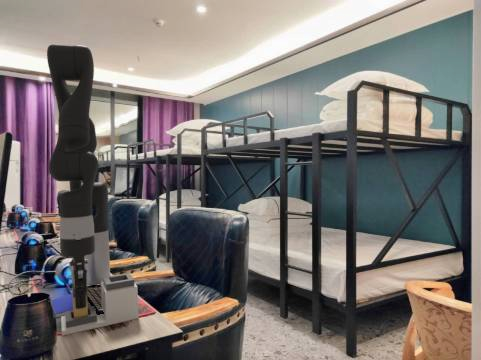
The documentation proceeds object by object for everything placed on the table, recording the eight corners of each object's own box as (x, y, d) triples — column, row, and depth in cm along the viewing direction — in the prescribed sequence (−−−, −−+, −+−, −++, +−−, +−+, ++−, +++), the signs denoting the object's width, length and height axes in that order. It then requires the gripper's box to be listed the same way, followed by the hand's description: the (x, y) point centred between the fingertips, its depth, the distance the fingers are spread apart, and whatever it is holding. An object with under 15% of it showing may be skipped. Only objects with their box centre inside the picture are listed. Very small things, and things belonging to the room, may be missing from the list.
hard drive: (45, 299, 97) (54, 313, 87) (77, 292, 102) (88, 305, 92) (46, 305, 97) (54, 319, 87) (77, 297, 102) (88, 310, 92)
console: (61, 320, 85) (59, 282, 85) (131, 305, 93) (130, 271, 93) (61, 335, 77) (60, 294, 77) (138, 318, 86) (137, 280, 85)
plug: (73, 318, 84) (72, 286, 84) (87, 315, 86) (85, 283, 85) (74, 323, 81) (72, 290, 81) (88, 320, 83) (87, 287, 83)
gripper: (59, 231, 87) (62, 298, 88) (60, 241, 75) (63, 319, 75) (91, 228, 91) (94, 292, 91) (97, 237, 78) (100, 311, 79)
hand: (80, 304), depth 83 cm, fingers open, 3 cm apart
